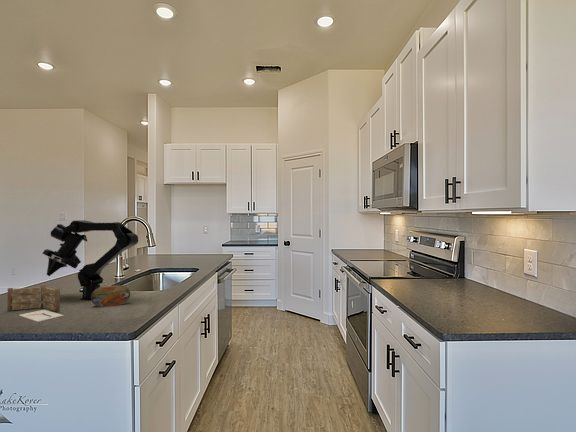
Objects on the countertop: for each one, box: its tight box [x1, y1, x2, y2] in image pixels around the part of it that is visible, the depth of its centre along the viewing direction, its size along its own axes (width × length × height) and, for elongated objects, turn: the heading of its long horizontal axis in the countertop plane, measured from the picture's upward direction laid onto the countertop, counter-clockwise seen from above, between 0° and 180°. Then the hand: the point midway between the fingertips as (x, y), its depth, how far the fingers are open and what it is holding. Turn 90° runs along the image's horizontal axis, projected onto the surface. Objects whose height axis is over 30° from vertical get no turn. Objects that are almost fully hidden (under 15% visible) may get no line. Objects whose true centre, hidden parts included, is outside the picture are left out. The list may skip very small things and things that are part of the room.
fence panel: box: [6, 286, 41, 311], centre depth 141 cm, size 11×2×8 cm, turn 119°
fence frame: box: [40, 284, 61, 313], centre depth 141 cm, size 12×2×9 cm, turn 60°
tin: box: [91, 284, 131, 308], centre depth 150 cm, size 15×3×8 cm, turn 117°
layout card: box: [18, 309, 64, 323], centre depth 133 cm, size 14×9×1 cm, turn 60°
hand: (47, 275), depth 154 cm, fingers closed
